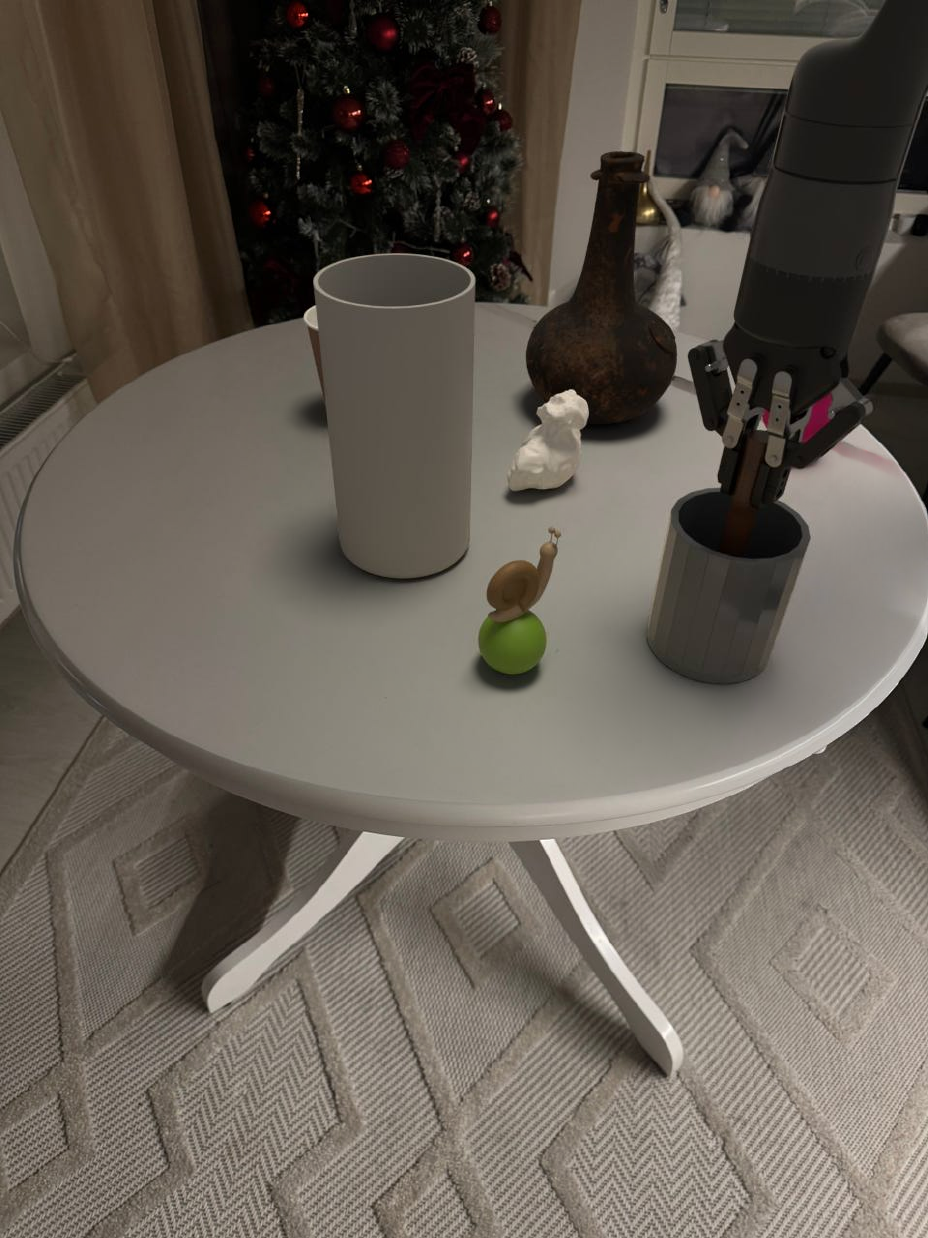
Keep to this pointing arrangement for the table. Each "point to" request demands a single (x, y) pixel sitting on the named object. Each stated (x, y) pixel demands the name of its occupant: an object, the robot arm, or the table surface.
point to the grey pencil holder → (723, 589)
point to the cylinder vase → (399, 408)
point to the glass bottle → (606, 314)
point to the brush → (744, 496)
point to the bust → (551, 445)
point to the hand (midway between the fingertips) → (746, 496)
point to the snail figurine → (517, 613)
